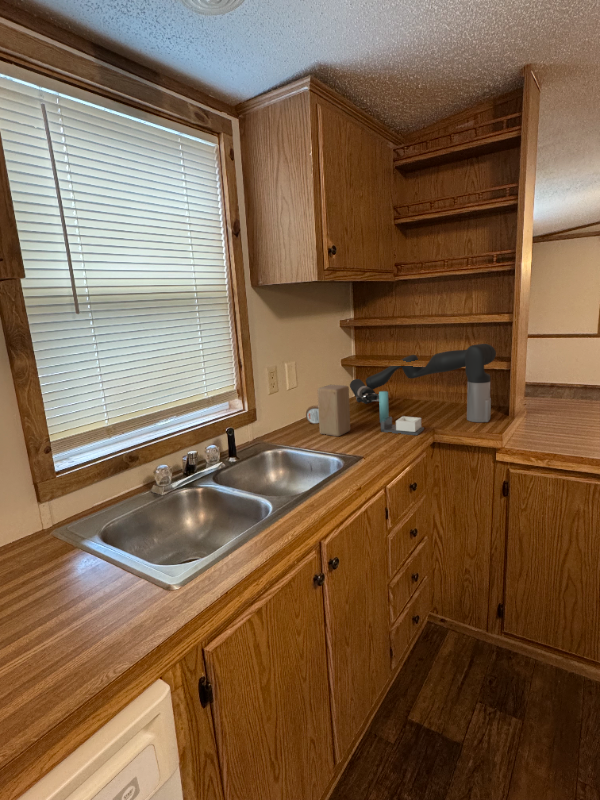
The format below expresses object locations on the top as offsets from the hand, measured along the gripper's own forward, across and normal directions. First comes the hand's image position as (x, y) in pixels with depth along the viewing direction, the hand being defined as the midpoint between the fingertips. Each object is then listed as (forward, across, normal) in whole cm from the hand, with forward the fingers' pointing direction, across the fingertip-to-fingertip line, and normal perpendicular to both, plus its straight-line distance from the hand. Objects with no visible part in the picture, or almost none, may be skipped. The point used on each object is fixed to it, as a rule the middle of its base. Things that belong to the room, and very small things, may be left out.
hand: (375, 400), depth 213 cm
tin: (+3, -26, +8) cm, 28 cm away
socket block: (+29, +6, +6) cm, 30 cm away
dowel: (+11, +1, +8) cm, 14 cm away
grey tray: (+27, +4, +8) cm, 28 cm away
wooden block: (+21, -24, +8) cm, 33 cm away
